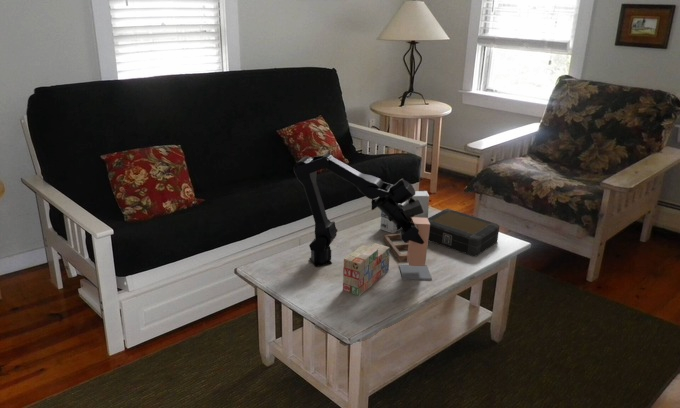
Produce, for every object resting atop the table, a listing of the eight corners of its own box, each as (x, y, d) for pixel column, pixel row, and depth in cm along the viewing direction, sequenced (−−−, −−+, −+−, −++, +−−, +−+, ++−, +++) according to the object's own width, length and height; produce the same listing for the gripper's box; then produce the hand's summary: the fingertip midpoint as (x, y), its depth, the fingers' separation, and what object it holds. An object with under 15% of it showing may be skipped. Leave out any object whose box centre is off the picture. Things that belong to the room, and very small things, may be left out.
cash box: (418, 238, 227) (420, 221, 224) (444, 224, 241) (446, 207, 239) (474, 258, 212) (476, 240, 209) (498, 241, 226) (501, 224, 224)
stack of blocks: (373, 265, 205) (375, 235, 200) (388, 270, 202) (391, 239, 197) (342, 291, 188) (343, 258, 183) (358, 296, 185) (360, 263, 180)
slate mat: (403, 279, 195) (403, 278, 195) (399, 266, 205) (399, 264, 204) (431, 279, 196) (431, 278, 196) (426, 266, 205) (426, 264, 205)
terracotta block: (409, 265, 196) (414, 223, 190) (406, 258, 201) (411, 217, 195) (424, 266, 196) (430, 224, 190) (422, 258, 201) (427, 217, 195)
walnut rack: (399, 260, 208) (399, 256, 208) (383, 239, 225) (383, 234, 224) (424, 258, 211) (424, 253, 210) (406, 237, 227) (406, 232, 227)
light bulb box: (393, 233, 230) (394, 209, 226) (379, 229, 234) (380, 205, 230) (406, 225, 238) (408, 202, 234) (393, 221, 242) (394, 198, 238)
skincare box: (424, 223, 241) (427, 190, 236) (427, 228, 236) (430, 195, 230) (405, 222, 241) (407, 190, 235) (407, 228, 235) (410, 195, 230)
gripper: (414, 204, 180) (445, 236, 185) (406, 184, 197) (434, 214, 202) (388, 226, 183) (419, 257, 188) (382, 205, 200) (410, 233, 205)
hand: (421, 239), depth 195 cm, fingers closed on terracotta block, 5 cm apart
